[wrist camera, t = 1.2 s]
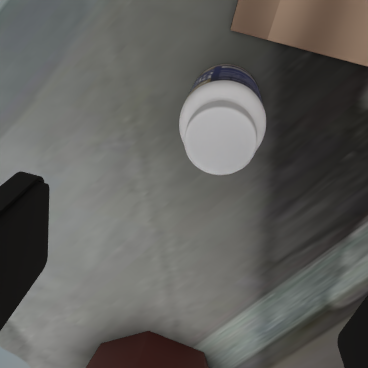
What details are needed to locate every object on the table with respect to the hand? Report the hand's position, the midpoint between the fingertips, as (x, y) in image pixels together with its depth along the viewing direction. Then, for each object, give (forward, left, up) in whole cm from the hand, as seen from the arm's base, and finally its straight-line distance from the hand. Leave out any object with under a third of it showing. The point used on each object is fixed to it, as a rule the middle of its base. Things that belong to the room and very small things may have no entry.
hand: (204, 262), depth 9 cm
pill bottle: (0, 0, -20) cm, 20 cm away
